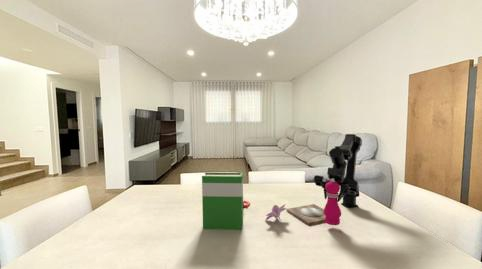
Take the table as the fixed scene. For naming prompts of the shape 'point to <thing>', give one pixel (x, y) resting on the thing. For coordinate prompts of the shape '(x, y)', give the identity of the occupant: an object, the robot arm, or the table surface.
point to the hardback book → (222, 201)
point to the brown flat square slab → (308, 214)
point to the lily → (276, 212)
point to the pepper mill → (332, 203)
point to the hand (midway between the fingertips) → (331, 200)
